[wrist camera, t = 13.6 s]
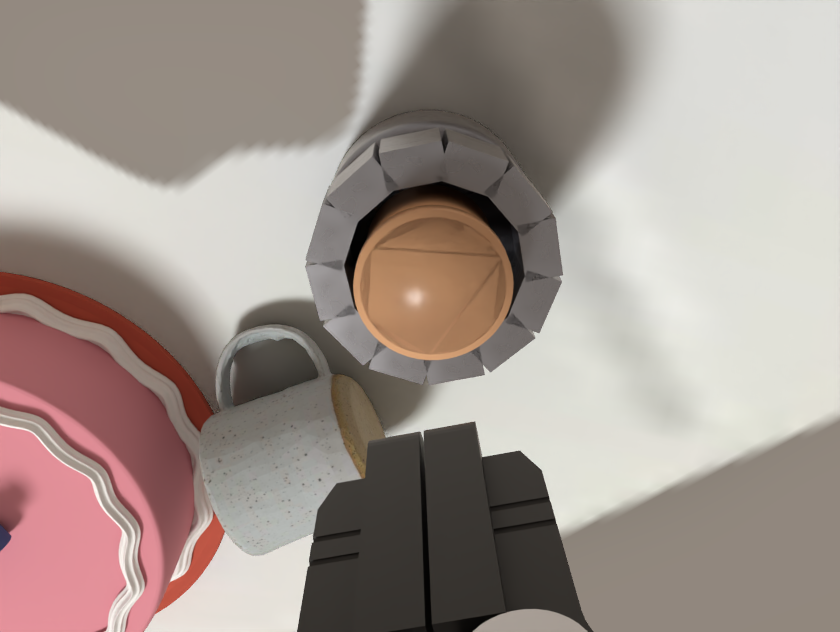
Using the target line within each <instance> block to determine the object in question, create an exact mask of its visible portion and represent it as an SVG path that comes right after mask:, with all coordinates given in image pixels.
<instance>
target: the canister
mask: <svg viewBox="0 0 840 632" xmlns="http://www.w3.org/2000/svg"><path fill="white" fill-rule="evenodd" d="M420 185H441V186H446V187H449V188H453V189H455V190H457V191H460V192H461V193H463V194H465V195H466V196H468V197H469V198H470V199H472V200H473V201H474V202H475V203H476V204H477V205H478V206H479V207H480V209H481V210H482V211H483V213H484V215H485V216H486V218H487V220H488V223H489V225H490V228H491V229H492V230H493V231H494V232H495V234H496V235H497V236H498V238H499V239H500V241H501V243H502V244H503V246H504V248H505V251H506V253H507V256H508V259H509V261H510V264H511V268H512V273H513V283H514V284H513V296H512V301H511V304H510V307H509V310H508V313H507V315H506V317H505V319H504V321H503V322H502V324H501V325H500V327H499V328H498V329H497V331H496V332H495V333H494V334H493V335H492V336H491V337H490V338H489V339H488V340H487V341H485V342H484V343H483V344H481V345H480V346H479V347H477V348H476V349H474V350H472V351H470V352H468V353H466V354H463V355H460V356H457V357H453V358H449V359H443V360H422V359H416V358H411V357H407V356H405V355H402V354H399V353H397V352H395V351H393V350H391V349H389V348H388V347H387V346H385V345H384V344H382V343H381V342H380V341H379V340H378V339H376V338H375V337H374V336H373V335H372V333H371V332H370V331H369V330H368V329H367V327H366V326H365V324H364V323H363V321H362V319H361V317H360V315H359V313H358V310H357V307H356V304H355V298H354V289H353V282H354V273H355V268H356V263H357V259H358V256H359V254H360V251H361V249H362V247H363V245H364V243H365V242H366V240H367V234H368V230H369V227H370V224H371V222H372V219H373V218H374V216H375V214H376V213H377V211H378V210H379V209H380V207H381V206H382V205H383V204H384V203H385V202H386V201H387V200H388V199H390V198H391V197H392V196H394V195H395V194H397V193H399V192H401V191H403V190H405V189H408V188H411V187H415V186H420ZM306 260H307V263H306V266H305V267H306V271H307V275H308V278H309V282H310V286H311V289H312V293H313V297H314V301H315V304H316V308H317V312H318V315H319V319H320V321H323V320H325V321H324V325H323V327H324V328H325V329H326V330H327V331H328V332H329V333H330V334H331V335H332V336H333V337H334V338H335V339H336V340H337V341H338V342H339V343H340V344H341V345H343V346H344V347H345V348H346V349H347V350H348V351H349V352H350V353H351V354H352V355H353V356H354V357H355V358H356V359H357V360H358V361H359V362H360V363H361V364H362V365H365V364H366V363H367V362H368V361H369V369H371V370H374V371H377V372H381V373H384V374H387V375H391V376H394V377H398V378H401V379H404V380H408V381H411V382H415V383H418V384H421V385H423V382H424V380H425V377H426V375H427V379H428V383H429V385H433V384H438V383H444V382H449V381H454V380H460V379H465V378H471V377H476V376H482V375H485V374H484V369H483V365H484V366H485V367H486V368H487V369H488V370H489V371H490V372H492V371H493V370H494V369H496V368H497V367H498V366H500V365H501V364H502V363H503V362H505V361H506V360H507V359H509V358H510V357H511V356H513V355H514V354H515V353H517V352H518V351H519V350H520V349H522V348H523V347H524V346H526V345H527V344H528V343H530V342H531V341H532V340H534V339H535V336H534V333H533V331H534V332H537V333H540V331H541V328H542V326H543V324H544V321H545V319H546V317H547V315H548V312H549V310H550V308H551V305H552V303H553V301H554V299H555V296H556V294H557V292H558V289H559V287H560V285H561V283H562V280H561V279H560V277H559V276H561V275H563V272H562V264H561V256H560V249H559V241H558V234H557V226H556V218H555V217H554V215H553V214H552V210H551V209H550V207H549V206H548V204H547V203H546V201H545V200H544V198H543V197H542V195H541V194H540V192H539V191H538V190H537V189H536V187H535V186H534V185H533V184H532V183H531V181H530V180H529V179H528V178H527V177H526V175H525V174H524V172H523V170H522V169H521V167H520V166H519V164H518V163H517V161H516V160H515V158H514V157H513V155H512V154H511V152H510V151H509V150H508V148H507V147H506V145H505V144H504V143H503V142H502V141H501V140H500V139H499V138H498V137H497V136H496V135H495V134H493V133H492V132H491V131H490V130H488V129H487V128H486V127H484V126H483V125H481V124H479V123H478V122H476V121H474V120H472V119H469V118H467V117H465V116H462V115H459V114H455V113H451V112H446V111H439V110H419V111H412V112H407V113H403V114H399V115H396V116H393V117H391V118H389V119H386V120H384V121H382V122H380V123H379V124H377V125H375V126H374V127H372V128H371V129H369V130H368V131H367V132H366V133H364V134H363V135H362V136H361V137H360V138H359V139H358V140H357V141H356V142H355V143H354V144H353V145H352V146H351V148H350V149H349V150H348V152H347V153H346V154H345V156H344V157H343V159H342V161H341V163H340V165H339V167H338V169H337V172H336V174H335V177H334V179H333V181H332V183H331V186H329V188H328V190H327V193H326V195H325V198H324V201H323V203H322V206H321V210H320V213H319V216H318V220H317V223H316V226H315V230H314V233H313V236H312V240H311V243H310V246H309V250H308V253H307V256H306Z"/></svg>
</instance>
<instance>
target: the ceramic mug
mask: <svg viewBox="0 0 840 632" xmlns="http://www.w3.org/2000/svg"><path fill="white" fill-rule="evenodd" d="M284 338H288V339H290V338H292V339H294V340H295V341H296V342H298V343H299V344H300V345H301V346H302V347H304V348H305V349H306V351H307V353H308V354H309V356H310V357H311V359H312V361H313V362H314V364H315V368H316V369H317V371H318V378H316V379H313V380H310V381H305V382H303V383H301V384H298V385H295V386H292V387H288V388H286V389H285V390H284V391H280V392H277V393H274V394H271V395H268V396H264V397H261V398H257V399H255V400H253V401H249V402H247V403H244V404H241V405H238V406H234V404H233V402H232V397H231V391H230V369H231V365H232V362H233V359H234V356H235V355H236V352H237V351H238V350H240V349H241V348H243V346H246V345H249V344H252V343H255V342H258V341H262V340H267V339H273V340H276V341H279V340H281V339H284ZM216 397H217V401H218V408H219V412H218V413H216V414H214V415H212V416H210V417H209V418H208V419H207V420H206V422H205V423H204V424H203V426H202V429H201V433H200V438H199V460H200V466H201V472H202V477H203V482H204V484H205V487H206V490H207V494H208V497H209V500H210V502H211V505H212V508H213V510H214V512H215V514H216V516H217V518H218V520H219V522H220V524H221V525H222V527H223V529H224V530H225V532H226V534H227V535H228V536H229V537H230V538H231V540H232V541H233V542H234V543H235V544H236V545H237V546H238V547H239V548H240V549H241V550H242V551H244V552H245V553H247V554H249V555H254V556H259V555H264V554H267V553H269V552H271V551H273V550H275V549H278V548H280V547H282V546H284V545H287V544H289V543H291V542H294V541H296V540H298V539H301V538H303V537H306V536H308V535H310V534H312V533H314V528H315V522H316V516H317V510H318V508H319V507H320V505H321V504H322V503H323V501H324V500H325V499H326V497H327V496H328V494H329V493H330V492H331V490H332V489H333V487H334V486H335V485H336V483H341V482H346V481H352V480H358V479H363V478H365V471H366V459H367V447H368V442H369V441H371V440H376V439H382V438H386V437H385V434H384V431H383V429H382V426H381V424H380V421H379V419H378V417H377V414H376V412H375V410H374V408H373V406H372V404H371V402H370V400H369V398H368V397H367V395H366V394H365V392H364V390H363V389H362V388H361V386H360V385H359V384H358V383H357V382H356V381H355V380H353V379H352V378H350V377H348V376H346V375H342V374H336V375H333V374H332V373H331V372H330V369H329V366H328V363H327V360H326V358H325V356H324V354H323V353H322V352H321V350H320V349H319V347H318V346H317V344H316V343H315V342H314V341H313V340H312V339H311V338H310V337H309V336H308V335H307V334H306V333H304V332H302V331H301V330H299V329H297V328H294V327H291V326H287V325H280V324H271V325H263V326H257V327H254V328H251V329H248V330H245V331H243V332H241V333H240V334H238V335H236V336H235V337H234V338H232V339H231V341H230V342H229V343H228V344H227V345H226V347H225V348H224V350H223V352H222V354H221V357H220V359H219V362H218V366H217V369H216Z"/></svg>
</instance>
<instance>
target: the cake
mask: <svg viewBox="0 0 840 632" xmlns="http://www.w3.org/2000/svg"><path fill="white" fill-rule="evenodd" d="M212 415H214V414H213V412H212V410H211V408H210V406H209V404H208V402H207V401H206V399H205V398H204V396H203V394H202V393H201V391H200V390H199V388H198V387H197V385H196V384H195V383H194V381H193V380H192V379H191V377H190V376H189V375H188V373H187V372H186V371H185V370H184V369H183V367H182V366H181V365H180V364H179V363H178V362H177V361H176V360H175V359H174V358H173V357H172V355H171V354H170V353H169V352H168V351H167V350H165V349H164V348H163V347H162V346H161V345H160V344H159V343H158V342H157V341H156V340H154V339H153V338H152V337H151V336H150V335H148V334H147V333H146V332H145V331H143V330H142V329H141V328H139V327H138V326H136V325H135V324H134V323H132V322H131V321H129V320H128V319H126V318H125V317H123V316H122V315H120V314H118V313H117V312H115V311H113V310H112V309H110V308H108V307H106V306H104V305H103V304H101V303H99V302H97V301H95V300H93V299H91V298H89V297H86V296H84V295H82V294H80V293H77V292H75V291H72V290H70V289H67V288H64V287H62V286H59V285H56V284H53V283H49V282H46V281H43V280H39V279H35V278H31V277H27V276H22V275H17V274H11V273H5V272H0V632H144V630H145V629H146V628H147V626H148V625H149V623H150V622H151V620H152V618H153V616H154V615H155V614H156V613H158V612H159V611H161V610H162V609H164V608H166V607H167V606H168V605H170V604H171V603H173V602H174V601H175V600H176V599H178V598H179V597H180V596H181V595H182V594H184V593H185V592H186V591H187V590H188V589H189V588H190V587H191V586H192V585H193V584H194V583H195V581H196V580H197V579H198V578H199V577H200V575H201V574H202V573H203V572H204V570H205V569H206V567H207V566H208V564H209V563H210V561H211V560H212V558H213V557H214V555H215V553H216V551H217V549H218V547H219V545H220V543H221V540H222V538H223V535H224V532H225V530H224V529H223V527H222V525H221V524H220V522H219V520H218V518H217V516H216V514H215V512H214V510H213V508H212V505H211V502H210V500H209V497H208V494H207V490H206V487H205V484H204V482H203V477H202V472H201V466H200V460H199V438H200V433H201V429H202V426H203V424H204V423H205V422H206V420H207V419H208V418H209V417H210V416H212Z"/></svg>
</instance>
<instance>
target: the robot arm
mask: <svg viewBox="0 0 840 632" xmlns="http://www.w3.org/2000/svg"><path fill="white" fill-rule="evenodd" d="M313 540H314V543H312V546H311V552H310V558H309V563H310V567H308V570H307V576H306V582H305V588H304V594H303V600H302V606H301V612H300V618H299V624H298V630H297V632H593V631H592V629H591V628H590V627H589V625H588V623H587V622H586V620H585V618H584V616H583V613H582V611H581V607H580V604H579V600H578V597H577V593H576V590H575V587H574V583H573V579H572V576H571V572H570V569H569V565H568V562H567V558H566V555H565V551H564V548H563V544H562V541H561V537H560V534H559V530H558V527H557V524H556V520H555V516H554V513H553V509H552V505H551V502H550V500H549V495H548V491H547V488H546V484H545V481H544V477H543V474H542V470H541V469H540V468H538V467H537V466H536V465H535V464H534V463H533V462H532V461H531V460H530V459H528V458H527V457H526V456H525V455H524V454H523V453H522V452H521V451H515V452H510V453H504V454H498V455H493V456H487V457H482V454H481V449H480V443H479V438H478V433H477V428H476V423H475V422H470V423H464V424H459V425H453V426H448V427H442V428H436V429H431V430H425V431H424V441H423V438H422V435H421V432H415V433H410V434H404V435H398V436H393V437H387V438H382V439H376V440H371V441H369V442H368V447H367V459H366V471H365V478H363V479H358V480H352V481H346V482H341V483H336V485H335V486H334V487H333V489H332V490H331V492H330V493H329V494H328V496H327V497H326V499H325V500H324V501H323V503H322V504H321V505H320V507H319V508H318V510H317V516H316V522H315V528H314V534H313Z"/></svg>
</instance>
